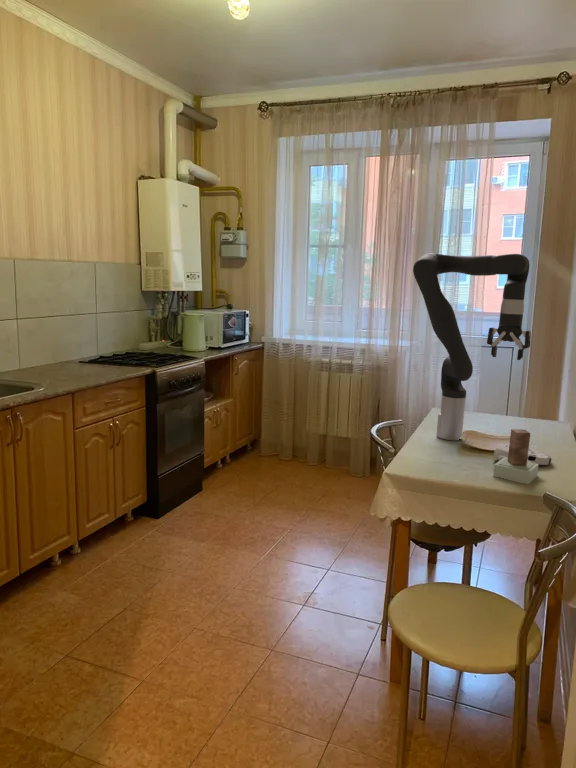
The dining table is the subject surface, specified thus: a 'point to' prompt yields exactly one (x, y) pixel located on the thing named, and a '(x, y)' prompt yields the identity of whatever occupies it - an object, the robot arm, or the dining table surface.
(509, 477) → the stand
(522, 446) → the block
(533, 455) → the toy
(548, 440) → the dining table surface
